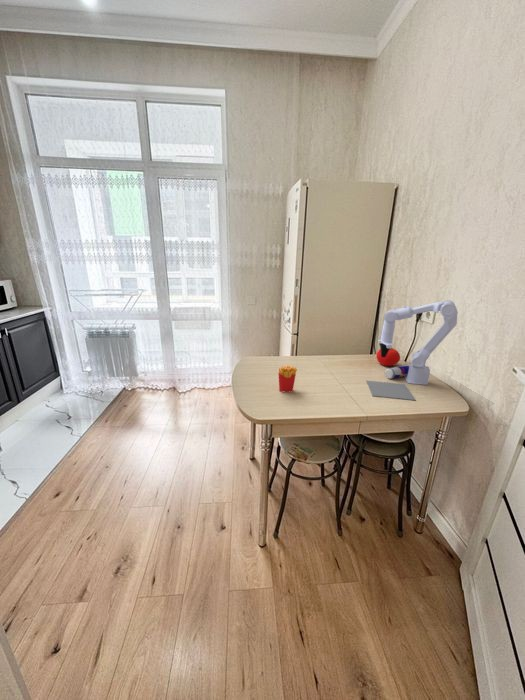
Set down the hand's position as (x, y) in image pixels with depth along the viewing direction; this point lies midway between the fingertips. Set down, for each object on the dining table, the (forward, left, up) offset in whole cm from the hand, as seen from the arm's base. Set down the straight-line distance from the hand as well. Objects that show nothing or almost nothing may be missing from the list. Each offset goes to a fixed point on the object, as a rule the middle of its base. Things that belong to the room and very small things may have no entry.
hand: (383, 356), depth 155 cm
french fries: (+50, +32, -10) cm, 60 cm away
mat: (0, +21, -10) cm, 23 cm away
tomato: (-7, -16, -10) cm, 20 cm away
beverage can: (-2, +6, -7) cm, 10 cm away
